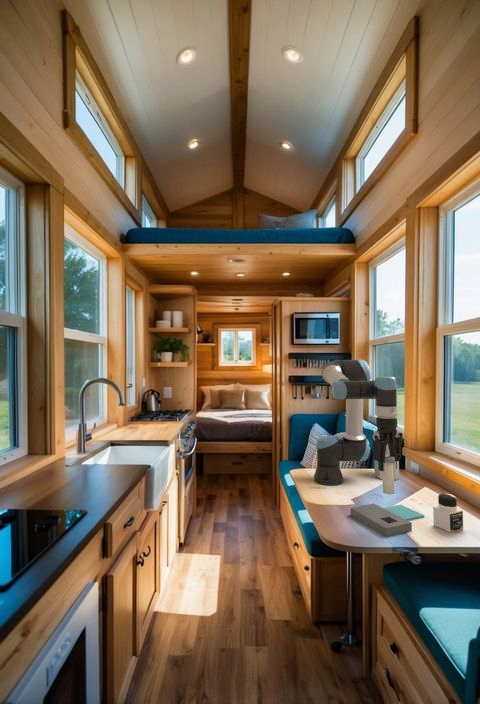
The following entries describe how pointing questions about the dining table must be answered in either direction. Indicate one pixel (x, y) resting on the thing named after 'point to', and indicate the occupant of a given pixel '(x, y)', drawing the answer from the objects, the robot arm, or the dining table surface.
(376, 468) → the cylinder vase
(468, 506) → the dining table surface
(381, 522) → the grey socket plate
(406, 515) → the mat
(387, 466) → the plug
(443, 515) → the medicine bottle
